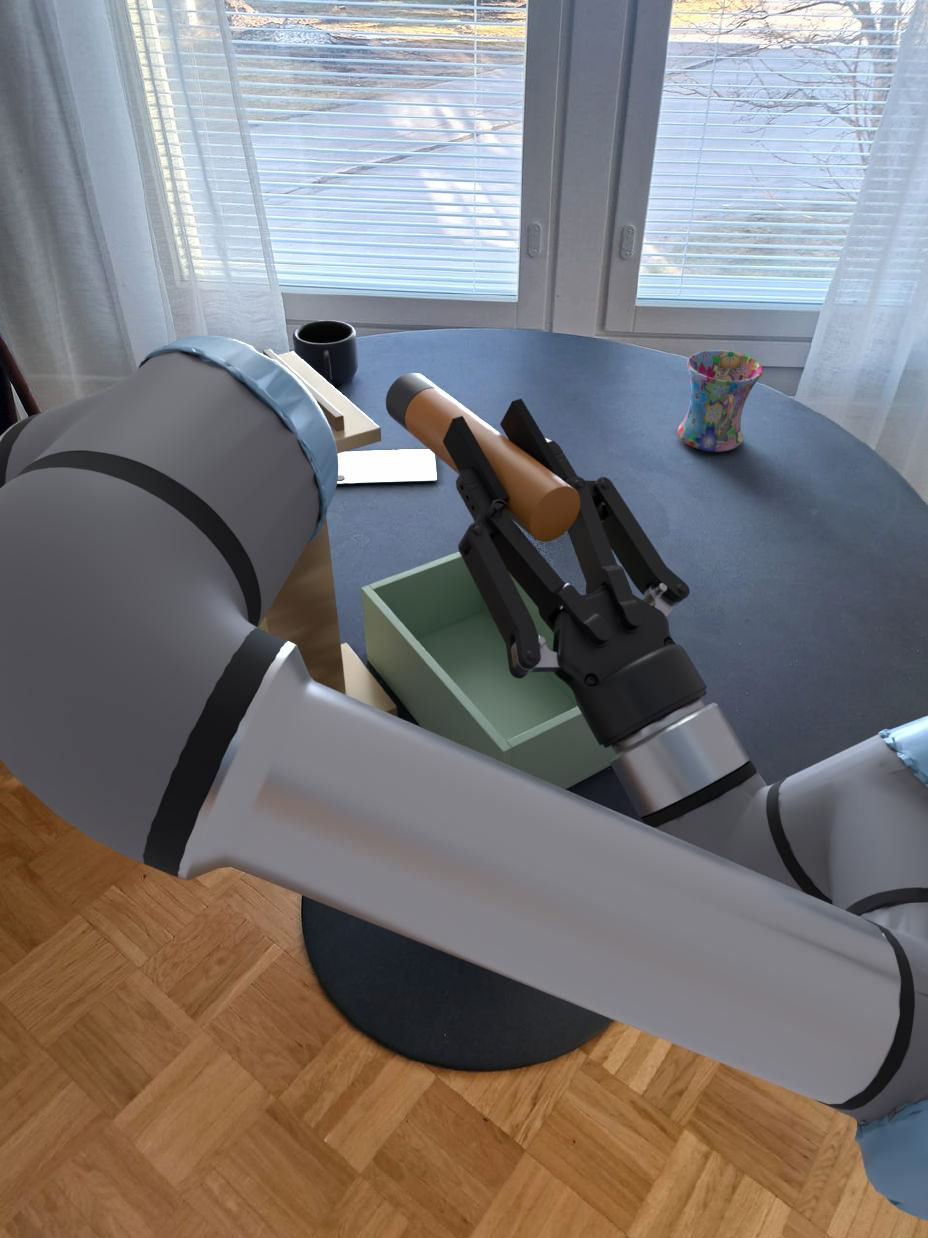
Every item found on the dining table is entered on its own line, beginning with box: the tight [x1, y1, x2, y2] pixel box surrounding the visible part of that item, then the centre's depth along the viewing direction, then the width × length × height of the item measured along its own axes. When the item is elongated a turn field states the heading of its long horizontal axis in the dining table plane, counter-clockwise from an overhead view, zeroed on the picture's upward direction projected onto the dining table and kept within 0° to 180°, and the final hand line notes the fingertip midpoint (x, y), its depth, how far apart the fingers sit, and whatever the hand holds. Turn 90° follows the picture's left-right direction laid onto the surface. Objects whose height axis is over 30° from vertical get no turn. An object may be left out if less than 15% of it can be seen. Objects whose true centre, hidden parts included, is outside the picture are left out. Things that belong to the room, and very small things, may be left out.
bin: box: [360, 551, 616, 790], centre depth 76 cm, size 14×23×9 cm, turn 32°
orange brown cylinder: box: [385, 372, 580, 543], centre depth 61 cm, size 4×19×4 cm, turn 32°
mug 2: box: [677, 349, 764, 453], centre depth 112 cm, size 12×9×11 cm
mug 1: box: [292, 319, 359, 387], centre depth 126 cm, size 12×9×7 cm
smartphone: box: [337, 448, 438, 486], centre depth 110 cm, size 8×1×16 cm
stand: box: [258, 348, 399, 718], centre depth 68 cm, size 12×14×31 cm
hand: (482, 420), depth 59 cm, fingers closed on orange brown cylinder, 4 cm apart
